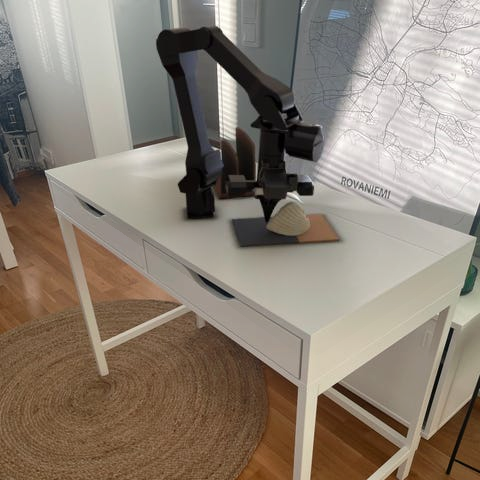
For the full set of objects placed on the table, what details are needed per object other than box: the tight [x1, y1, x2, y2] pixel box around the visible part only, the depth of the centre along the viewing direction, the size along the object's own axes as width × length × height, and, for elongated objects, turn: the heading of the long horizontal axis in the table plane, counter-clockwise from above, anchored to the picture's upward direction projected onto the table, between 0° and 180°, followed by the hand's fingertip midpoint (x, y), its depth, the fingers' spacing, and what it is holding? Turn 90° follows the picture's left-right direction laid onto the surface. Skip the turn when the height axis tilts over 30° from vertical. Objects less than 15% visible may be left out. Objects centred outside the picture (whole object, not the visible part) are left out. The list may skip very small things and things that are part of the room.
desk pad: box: [232, 213, 340, 248], centre depth 112 cm, size 22×14×1 cm, turn 98°
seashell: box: [266, 200, 310, 236], centre depth 110 cm, size 8×8×8 cm
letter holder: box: [212, 126, 257, 199], centre depth 132 cm, size 10×20×14 cm, turn 14°
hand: (266, 222), depth 110 cm, fingers closed, pressing on seashell
